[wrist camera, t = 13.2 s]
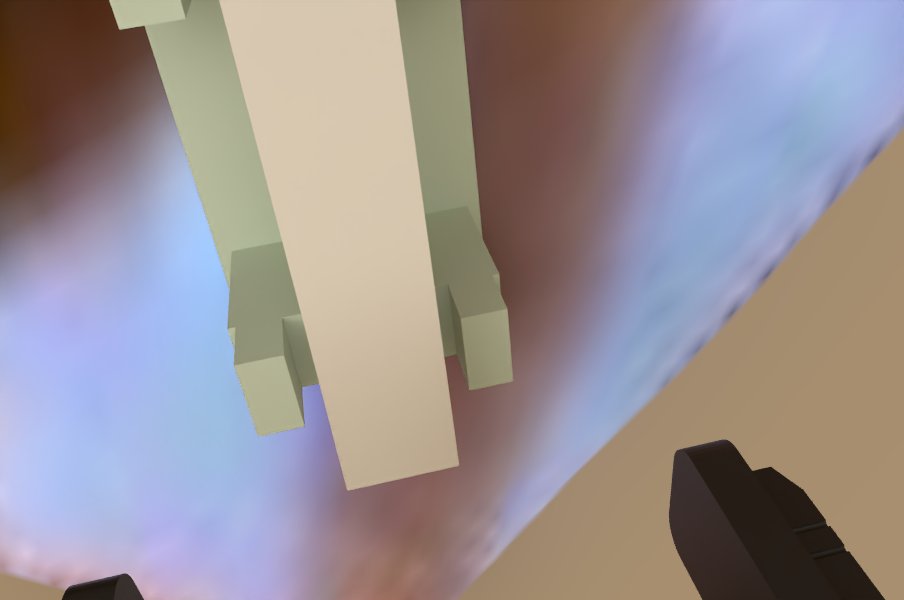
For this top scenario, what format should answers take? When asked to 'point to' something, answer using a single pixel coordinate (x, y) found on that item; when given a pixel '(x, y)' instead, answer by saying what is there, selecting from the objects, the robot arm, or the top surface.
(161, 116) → the top surface
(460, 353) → the sage green peg rail
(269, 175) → the clay strip
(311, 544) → the top surface
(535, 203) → the top surface
